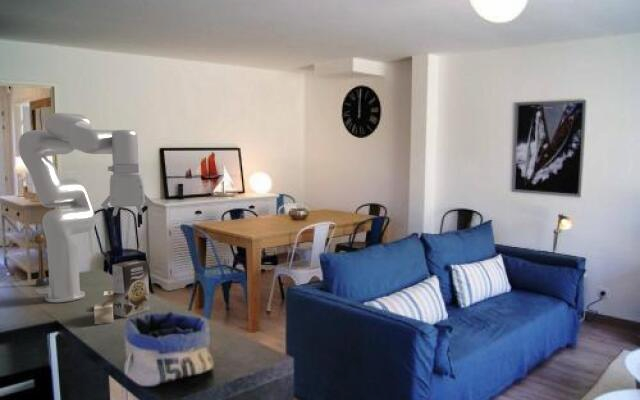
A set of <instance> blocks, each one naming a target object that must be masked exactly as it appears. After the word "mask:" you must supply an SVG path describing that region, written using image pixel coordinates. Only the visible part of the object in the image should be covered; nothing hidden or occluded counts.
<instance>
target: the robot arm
mask: <svg viewBox="0 0 640 400" xmlns="http://www.w3.org/2000/svg"><path fill="white" fill-rule="evenodd" d="M138 142H139V141H138V133H137V131H135V130H132V129H115V130H114V129H113V130H111V129H110V130H109V129H93V128H92V125H91V122H90V120H89V118H88V117H87V116H86V115H83V114H79V113H67V112H56V113H52V114H50V115H48V116H47V117H46V119H45V121H44V130H43V129H36V130H35V129H34V130H28V131H26V132H23V133H22V134H21V135H20V137H19V140H18V153H19V156H20V159H21V160H22V162H23V164H24V166H25V168H26V169H27V171H28V173H29V175H30V178H31V180H32V184H33V186H34V188H35V189H34V190H35V193H36V195H37V197H38V200H39V202H40V204H41V205H42V206H43V207H45V208H56V209H52V210H51V209H50V210H49V211H47V212H46V213H45V214H44V215H43V217H42V220H41V221H42V228H43V231H44V236H45V242H46V251H47V265H48V280H49V285H48V286H45V287H46V288H36V289H35V295H38V296H43V295H45V297H44V300H45V301H46V302H48V303H66V302H73V301H77V300H79V299H80V300H81V299H82V298H84V297H85V296H86V292H85V291H83V290H81V286H80V283H81V282H80V270H79V269H80V268H79V266H80V265H79V264H80V263H79V250H78V245H77V243H76V242H75V240H74V239H73V238H72V235H78V234H86V233H89V232H91V231H92V230H93V229H95V227H96V223H97V220H96V213H95V212H94V208H93V206H92V203H91V200H90V197H89V194H88V191H87V189H86V187H85V186H84V184H83V183H82V182H81V181H79V180H76V179H62V178H61V177H60V175H59V172H58V169H57V167H56V166H55V164H54V163H53V162H52V161H50V159H48V158H47V157H46V156H45V155H68V154H71V153H72V152H73V151H75V150H76V151H78V152H82V153H85V154H88V155H89V154H90V155H105V154H106V155H112V156H111V157H112V165H110V166H107V171H108V172H112V174H111V175H110V177H109V191H108V192H109V195H108V196H107V197H106V199H104V201H103V202H102V203H101V204H100V205H101V207H102V208H104V210H106V211H107V212H108V213H110V214H111V215H112V216H113V226H114V227H116V230H117V229H120V217H119V213H118V212H119V210H120V208H123V207H124V208H127V207H128V208H129V207H130V208H131V207H136V209H137V214H136V215H137V216H136V217H137V228H139V229H140V228H141V225H143V214H144V213H145V212H146V211H147V210H148V209H149V208H150V207H151V206H152V205H153V204H154V202H153V200H151V199H150V198H149V197H148V196H147V195H146V194H145V186H144V180H143V179H144V178H143V175H142V174H141V173H140V171H139V170H140V169H139V168H140V167H139V165H140V164H139V149H138V147H139V146H138V144H139V143H138ZM145 202H146V204H145ZM108 203H109V204H110V206H109V205H108ZM144 204H145V205H144ZM141 206H143V207H141ZM63 207H64V208H63ZM112 207H113V208H112Z"/></svg>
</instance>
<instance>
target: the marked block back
mask: <svg viewBox="0 0 640 400" xmlns="http://www.w3.org/2000/svg"><path fill="white" fill-rule="evenodd" d="M111 302H113V310H114V297H113V290H104V291H103V303H111Z"/></svg>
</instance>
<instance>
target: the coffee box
mask: <svg viewBox="0 0 640 400" xmlns="http://www.w3.org/2000/svg"><path fill="white" fill-rule="evenodd" d="M112 287H113V288H112V289H113V290H112V291H113V297H114V309H113V316H119V317H121V318H130V317H133V316H137V315H139V314H142V313H145V312H149V311H150V289H149V287H150V286H149V263H148V261H147V260H137V259H134V260H130V261H125V262H120V263H114V264H112Z"/></svg>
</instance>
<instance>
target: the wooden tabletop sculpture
mask: <svg viewBox="0 0 640 400" xmlns="http://www.w3.org/2000/svg"><path fill="white" fill-rule="evenodd" d="M33 242H34V243H35V244H37V245H38V247H37V248H38V277H37V279H36V281H35V286H36V287H48V286H49V285H50V284H49V277H47V276H46V275H47V274H46V273H45V272H46V271H45V265H44V253H43V246H42V244H44V243H45V242H46V236H45V234H41V233H40V234H36V235H35V236H34V238H30V239H29V243H33Z"/></svg>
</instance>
